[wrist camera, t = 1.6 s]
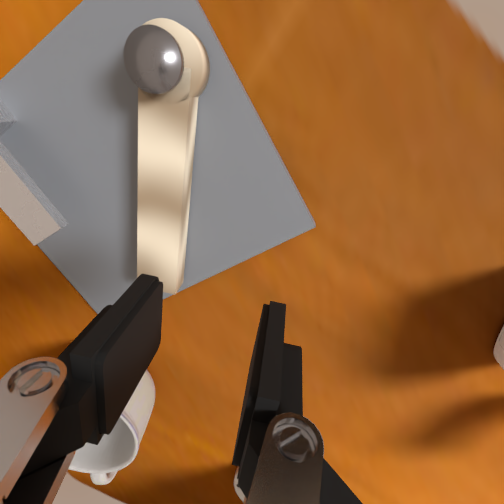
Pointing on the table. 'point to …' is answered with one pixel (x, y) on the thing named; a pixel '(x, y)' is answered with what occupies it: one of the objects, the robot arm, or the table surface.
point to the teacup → (118, 437)
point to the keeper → (24, 193)
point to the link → (165, 141)
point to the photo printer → (500, 349)
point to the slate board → (126, 152)
